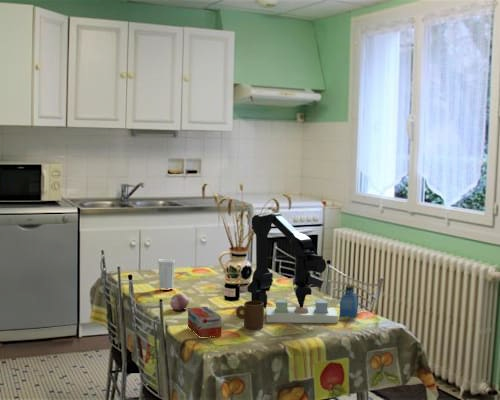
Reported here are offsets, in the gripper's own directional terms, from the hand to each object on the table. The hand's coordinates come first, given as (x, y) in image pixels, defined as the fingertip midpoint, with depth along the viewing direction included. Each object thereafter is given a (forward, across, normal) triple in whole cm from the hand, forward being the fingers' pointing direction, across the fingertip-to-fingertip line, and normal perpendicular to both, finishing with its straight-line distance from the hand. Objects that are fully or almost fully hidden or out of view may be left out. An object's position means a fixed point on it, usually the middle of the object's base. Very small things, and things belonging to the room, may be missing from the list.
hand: (301, 307), depth 265 cm
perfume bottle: (+5, +6, -20) cm, 21 cm away
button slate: (+2, 0, -8) cm, 8 cm away
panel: (+5, 0, 0) cm, 5 cm away
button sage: (+2, 0, +8) cm, 8 cm away
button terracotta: (+4, 0, 0) cm, 4 cm away
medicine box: (+5, -20, +38) cm, 43 cm away
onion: (+5, +10, +50) cm, 51 cm away
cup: (+5, +45, +60) cm, 75 cm away
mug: (+5, -14, +21) cm, 26 cm away
